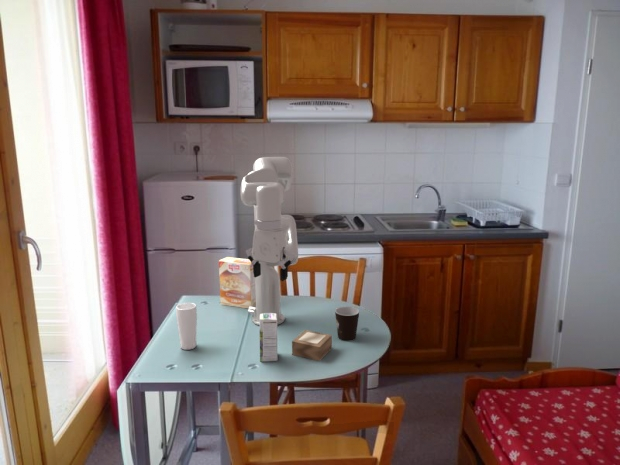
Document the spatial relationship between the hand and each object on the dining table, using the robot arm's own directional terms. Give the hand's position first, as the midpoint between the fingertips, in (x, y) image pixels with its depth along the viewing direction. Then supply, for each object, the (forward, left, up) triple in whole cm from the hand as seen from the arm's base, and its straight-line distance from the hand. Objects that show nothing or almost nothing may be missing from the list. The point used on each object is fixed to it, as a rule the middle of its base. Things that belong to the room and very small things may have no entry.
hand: (270, 278), depth 156 cm
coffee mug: (+16, +26, -27) cm, 41 cm away
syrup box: (-1, -1, -27) cm, 27 cm away
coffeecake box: (-37, +36, -27) cm, 58 cm away
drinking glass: (-30, -6, -27) cm, 41 cm away
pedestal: (+10, +9, -27) cm, 30 cm away
